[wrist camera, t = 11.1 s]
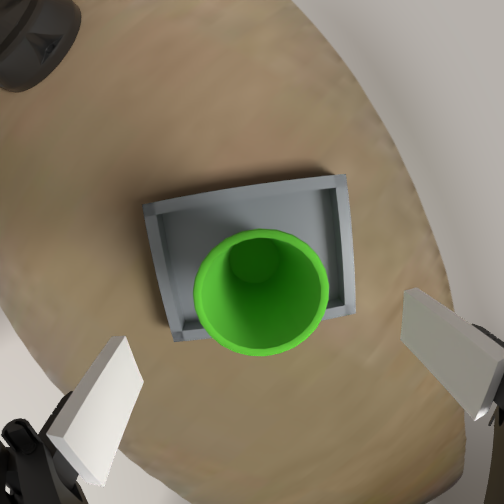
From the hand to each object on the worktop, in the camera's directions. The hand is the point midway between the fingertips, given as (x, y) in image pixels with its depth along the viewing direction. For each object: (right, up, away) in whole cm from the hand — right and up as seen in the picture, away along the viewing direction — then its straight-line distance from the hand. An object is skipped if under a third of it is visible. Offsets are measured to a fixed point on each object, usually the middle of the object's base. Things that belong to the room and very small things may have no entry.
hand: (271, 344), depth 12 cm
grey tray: (-1, +4, +18) cm, 18 cm away
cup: (-1, +4, +17) cm, 18 cm away
